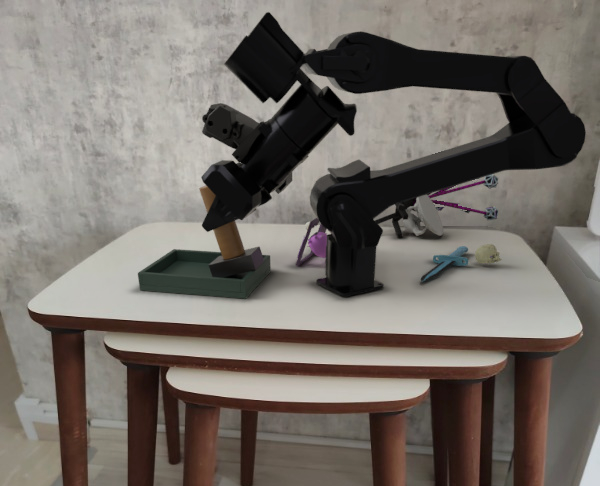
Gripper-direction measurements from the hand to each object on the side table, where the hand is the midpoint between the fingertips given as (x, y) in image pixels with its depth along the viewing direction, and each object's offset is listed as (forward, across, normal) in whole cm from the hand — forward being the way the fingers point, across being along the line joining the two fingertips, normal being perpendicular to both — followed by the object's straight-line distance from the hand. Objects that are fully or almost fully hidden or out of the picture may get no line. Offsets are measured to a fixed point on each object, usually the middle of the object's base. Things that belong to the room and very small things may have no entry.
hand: (209, 225), depth 77 cm
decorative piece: (-8, -25, +16) cm, 30 cm away
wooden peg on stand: (+1, 0, +6) cm, 7 cm away
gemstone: (-20, -15, +30) cm, 39 cm away
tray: (+6, 0, +5) cm, 7 cm away
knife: (-14, -13, +24) cm, 31 cm away
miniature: (-16, -30, +21) cm, 40 cm away
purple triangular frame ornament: (-3, -13, +14) cm, 19 cm away
